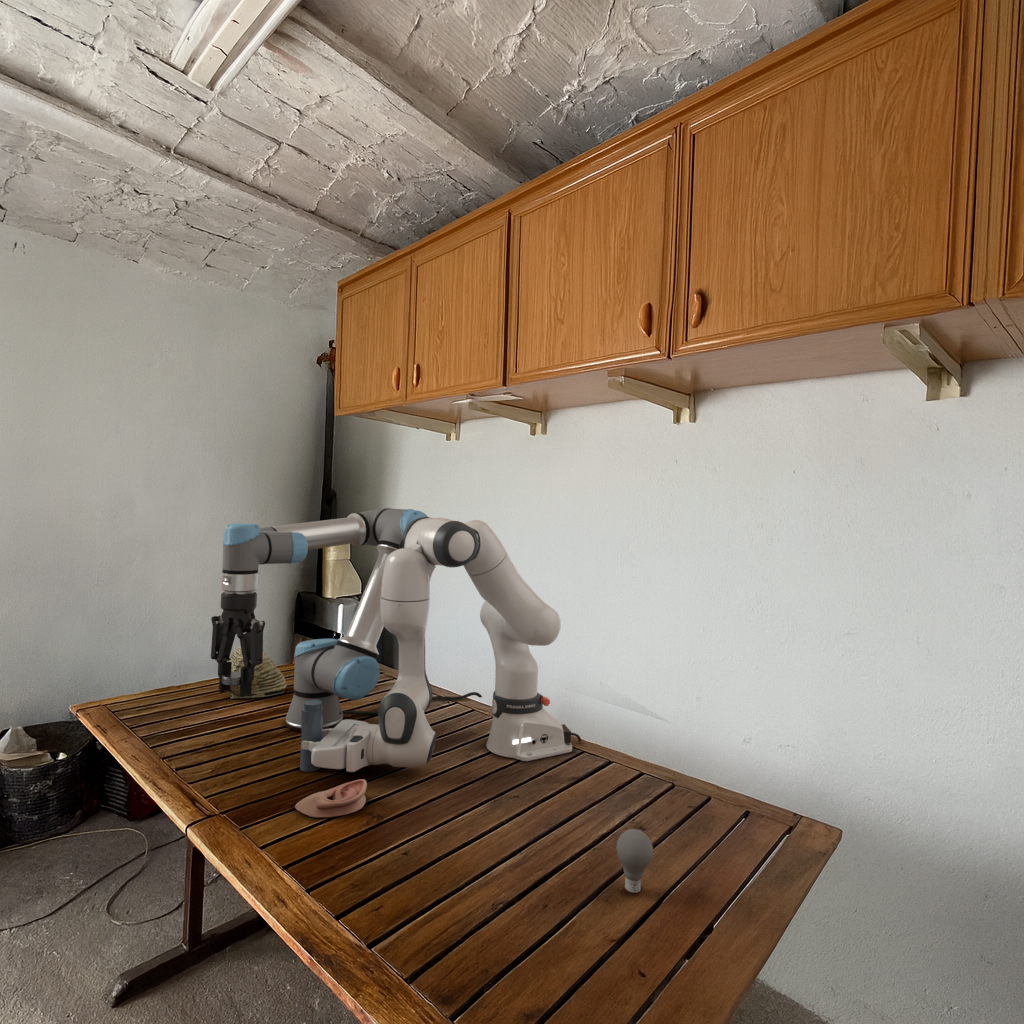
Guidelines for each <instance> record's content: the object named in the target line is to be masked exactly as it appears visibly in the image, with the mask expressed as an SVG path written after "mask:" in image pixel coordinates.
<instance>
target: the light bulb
mask: <svg viewBox="0 0 1024 1024" xmlns="http://www.w3.org/2000/svg"><path fill="white" fill-rule="evenodd" d="M615 849H616V854H617V857H618V859H619V861H620V863H621V865H622V867H623V873H624V874H623V875H624V876H625V878H624V888H625V890H627V891H628V892H630V893H634V894H635V893H639V892H640V891H641V889H642V887H641V886H642V879H643V877H644V875H645V871H646V868H647V867H648V866H649V864H650V863H651V861H652V859H653V855H654V847H653V843H652V841H651V838H649V836H648V835H647V834H646V833H645V832H643V831H642V830H641V829H636V828H629V829H627V830H625V831H623V832H622V833H621V834H620V835H619V837H618V839H617V841H616V847H615Z"/></svg>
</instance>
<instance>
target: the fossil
mask: <svg viewBox="0 0 1024 1024" xmlns="http://www.w3.org/2000/svg"><path fill="white" fill-rule="evenodd" d="M229 658H230V659H231V660H229V661H227V662H232V665H231V672H235V671H241V668H242V666H244V662H243V656H242V650H241V646H238V647H237V648H236V649H235V650H233V651H232V652H231V654H230V657H229ZM249 662H250V661H249ZM287 687H288V686H287V680H286V678H285V676H284V674H283V673H282V672H281V669H279V668H278V667H277V665H276V663H275V662H274V660H273V659H272V658H271V657H270V656H269V655H268V654H267V653H266V652H265V650H264V649H263V663H262V664H259V665H256V666H255V668H254V680H253V681H252V691H251V694H250V695H247V696H245V697H240V685H231V689H230V690H229V691H228V693H229V698H230V699H250V698H264V697H271V696H275V695H281V694H284V693H285V691H286V689H287Z"/></svg>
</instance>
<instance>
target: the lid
mask: <svg viewBox="0 0 1024 1024" xmlns="http://www.w3.org/2000/svg"><path fill="white" fill-rule="evenodd" d="M240 680H241V671H235V672H228V673H225V674H223V675H222V684H225V685H240Z"/></svg>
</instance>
